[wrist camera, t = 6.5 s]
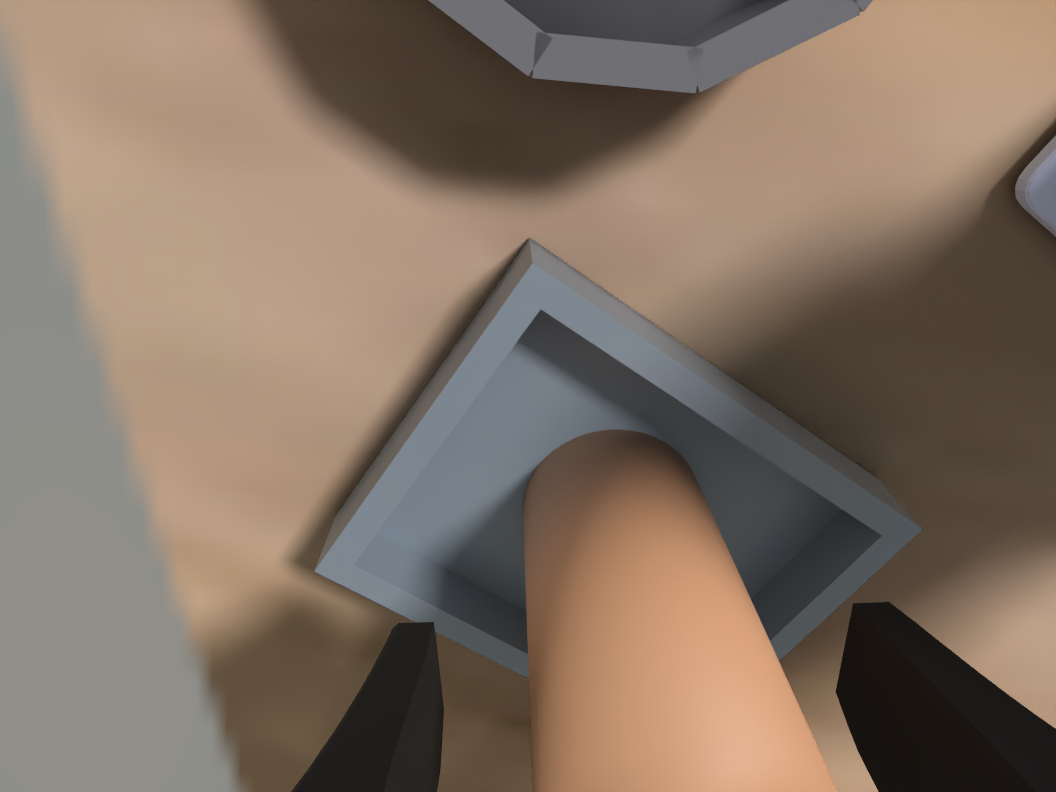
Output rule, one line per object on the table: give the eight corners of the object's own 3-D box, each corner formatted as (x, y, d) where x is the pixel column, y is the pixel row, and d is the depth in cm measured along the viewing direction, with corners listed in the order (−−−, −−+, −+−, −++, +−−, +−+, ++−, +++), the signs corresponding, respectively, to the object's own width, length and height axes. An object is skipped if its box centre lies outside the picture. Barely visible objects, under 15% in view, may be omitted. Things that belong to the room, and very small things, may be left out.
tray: (878, 479, 17) (923, 529, 15) (662, 689, 20) (678, 753, 18) (529, 237, 15) (532, 263, 13) (334, 517, 17) (314, 571, 15)
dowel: (735, 485, 16) (918, 824, 9) (627, 604, 18) (711, 982, 10) (592, 396, 15) (669, 697, 8) (488, 529, 17) (475, 889, 9)
